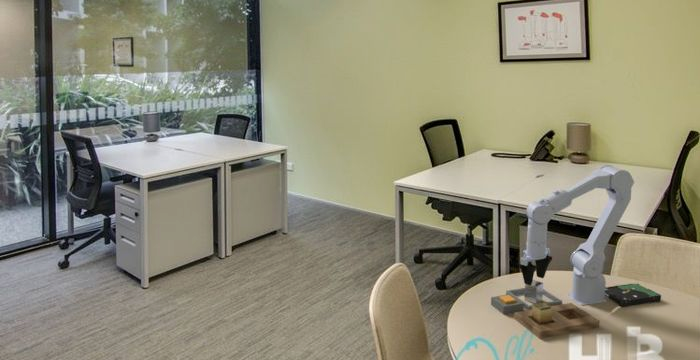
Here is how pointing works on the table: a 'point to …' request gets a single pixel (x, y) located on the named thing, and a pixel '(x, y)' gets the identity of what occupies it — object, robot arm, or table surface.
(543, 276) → the robot arm
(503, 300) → the button
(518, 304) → the button housing
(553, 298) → the tray
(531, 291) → the block
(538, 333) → the wooden pocket board
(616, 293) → the disk drive
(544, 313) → the block
